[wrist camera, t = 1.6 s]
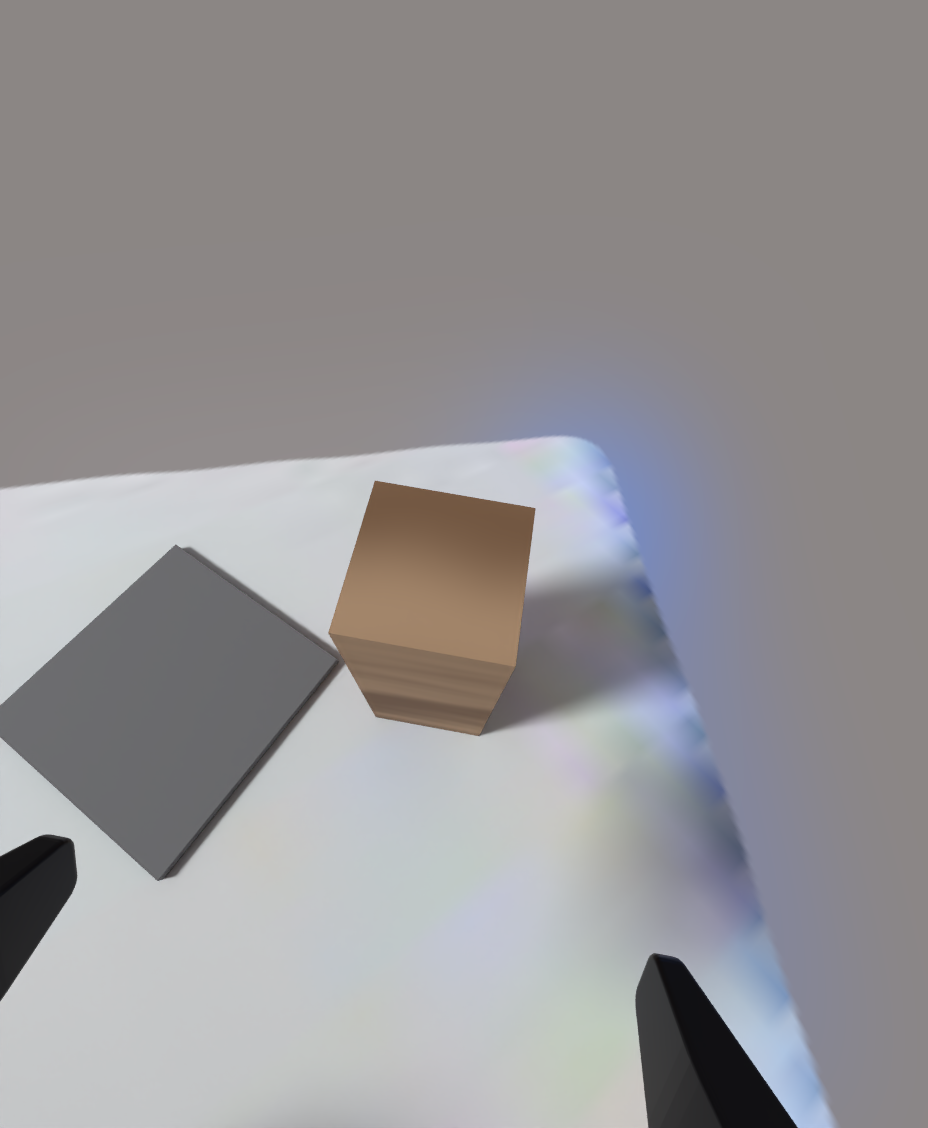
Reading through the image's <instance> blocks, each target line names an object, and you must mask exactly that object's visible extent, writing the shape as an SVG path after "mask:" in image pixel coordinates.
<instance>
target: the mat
mask: <svg viewBox="0 0 928 1128" xmlns="http://www.w3.org/2000/svg"><path fill="white" fill-rule="evenodd" d="M338 662H339V661H338V660H337V659H336V658H335V657H333V656H332V655H331V654H329V653H328V652H326V651H325V650H324V649H322V648H321V647H319V646H318V645H317V644H315V643H314V642H312V641H311V640H310V639H308V638H307V637H305V636H304V635H302V634H301V633H300V632H298V631H297V630H295V629H294V628H293V627H291V626H290V625H288V624H287V623H286V622H284V621H283V620H281V619H280V618H279V617H277V616H276V615H274V614H273V613H272V612H270V611H269V610H267V609H266V608H264V607H263V606H262V605H260V604H259V603H257V602H256V601H255V600H253V599H252V598H250V597H249V596H248V595H246V594H245V593H243V592H242V591H241V590H239V589H238V588H236V587H235V586H234V585H232V584H231V583H229V582H228V581H226V580H225V579H224V578H222V577H221V576H219V575H218V574H217V573H215V572H214V571H212V570H211V569H210V568H208V567H207V566H205V565H204V564H203V563H201V562H200V561H198V560H197V559H195V558H194V557H193V556H191V555H190V554H188V553H187V552H186V551H184V550H183V549H181V548H180V547H179V546H177V545H175V546H174V547H173V548H172V549H170V550H169V551H168V552H167V553H166V554H165V555H164V556H163V557H162V558H161V559H160V560H158V561H157V562H156V563H155V564H154V565H153V566H152V567H151V568H150V569H149V570H148V571H146V572H145V573H144V574H143V575H142V576H141V577H140V578H139V579H138V580H137V581H136V582H134V583H133V584H132V585H131V586H130V587H129V588H128V589H127V590H126V591H125V592H124V593H122V594H121V595H120V596H119V597H118V598H117V599H116V600H115V601H114V602H113V603H112V604H111V605H109V606H108V607H107V608H106V609H105V610H104V611H103V612H102V613H101V614H100V615H99V616H97V617H96V618H95V619H94V620H93V621H92V622H91V623H90V624H89V625H88V626H87V627H85V628H84V629H83V630H82V631H81V632H80V633H79V634H78V635H77V636H76V637H75V638H73V639H72V640H71V641H70V642H69V643H68V644H67V645H66V646H65V647H64V648H63V649H61V650H60V651H59V652H58V653H57V654H56V655H55V656H54V657H53V658H52V659H51V660H49V661H48V662H47V663H46V664H45V665H44V666H43V667H42V668H41V669H40V670H39V671H37V672H36V673H35V674H34V675H33V676H32V677H31V678H30V679H29V680H28V681H27V682H25V683H24V684H23V685H22V686H21V687H20V688H19V689H18V690H17V691H16V692H15V693H13V694H12V695H11V696H10V697H9V698H8V699H7V700H6V701H5V702H4V703H3V704H1V705H0V737H1V738H2V739H3V740H4V741H5V742H6V743H7V744H8V745H10V746H11V747H12V748H13V749H14V750H15V751H16V752H17V753H18V754H19V755H20V756H22V757H23V758H24V759H25V760H26V761H27V762H28V763H29V764H30V765H31V766H32V767H34V768H35V769H36V770H37V771H38V772H39V773H40V774H41V775H42V776H43V777H44V778H46V779H47V780H48V781H49V782H50V783H51V784H52V785H53V786H54V787H55V788H57V789H58V790H59V791H60V792H61V793H62V794H63V795H64V796H65V797H66V798H67V799H69V800H70V801H71V802H72V803H73V804H74V805H75V806H76V807H77V808H78V809H79V810H81V811H82V812H83V813H84V814H85V815H86V816H87V817H88V818H89V819H90V820H91V821H93V822H94V823H95V824H96V825H97V826H98V827H99V828H100V829H101V830H102V831H104V832H105V833H106V834H107V835H108V836H109V837H110V838H111V839H112V840H113V841H114V842H116V843H117V844H118V845H119V846H120V847H121V848H122V849H123V850H124V851H125V852H126V853H128V854H129V855H130V856H131V857H132V858H133V859H134V860H135V861H136V862H137V863H138V864H140V865H141V866H142V867H143V868H144V869H145V870H146V871H147V872H148V873H149V874H151V875H152V876H153V877H154V878H155V879H156V880H157V881H159V880H163V879H164V877H165V876H166V875H167V874H168V872H169V871H170V870H171V869H172V867H173V866H174V865H175V864H176V862H177V861H178V860H179V859H180V857H181V856H182V855H183V854H184V852H185V851H186V850H187V849H188V848H189V846H190V845H191V844H192V843H193V841H194V840H195V839H196V838H197V836H198V835H199V834H200V833H201V831H202V830H203V829H204V828H205V826H206V825H207V824H208V823H209V822H210V820H211V819H212V818H213V817H214V815H215V814H216V813H217V812H218V810H219V809H220V808H221V807H222V805H223V804H224V803H225V802H226V800H227V799H228V798H229V797H230V795H231V794H232V793H233V792H234V791H235V789H236V788H237V787H238V786H239V784H240V783H241V782H242V781H243V779H244V778H245V777H246V776H247V774H248V773H249V772H250V771H251V769H252V768H253V767H254V766H255V765H256V763H257V762H258V761H259V760H260V758H261V757H262V756H263V755H264V753H265V752H266V751H267V750H268V748H269V747H270V746H271V745H272V743H273V742H274V741H275V740H276V739H277V737H278V736H279V735H280V734H281V732H282V731H283V730H284V729H285V727H286V726H287V725H288V724H289V722H290V721H291V720H292V719H293V717H294V716H295V715H296V714H297V712H298V711H299V710H300V709H301V708H302V706H303V705H304V704H305V703H306V701H307V700H308V699H309V698H310V696H311V695H312V694H313V693H314V691H315V690H316V689H317V688H318V686H319V685H320V684H321V683H322V682H323V680H324V679H325V678H326V677H327V675H328V674H329V673H330V672H331V670H332V669H333V668H334V667H335V665H336V664H337V663H338Z"/></svg>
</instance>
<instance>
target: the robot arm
mask: <svg viewBox="0 0 928 1128" xmlns="http://www.w3.org/2000/svg"><path fill="white" fill-rule="evenodd" d="M76 881H77V868H76V858H75V849H74V843H73V841H72V840H71V839H69V838H65V837H60V836H55V835H42V836H39V837H37V838H35V839H33V840H31V841H29V842H27V843H25V844H23V845H21V846H19V847H17V848H15V849H13V850H11V851H9V852H8V853H6V854H4V855H2V856H0V1001H1V1000H2V998H3V997H4V995H5V994H6V992H7V991H8V989H9V988H10V986H11V985H12V983H13V982H14V980H15V979H16V977H17V976H18V974H19V973H20V971H21V970H22V968H23V967H24V965H25V964H26V962H27V961H28V959H29V958H30V956H31V955H32V953H33V952H34V950H35V949H36V947H37V946H38V944H39V943H40V941H41V940H42V938H43V937H44V935H45V933H46V932H47V930H48V929H49V927H50V926H51V924H52V923H53V921H54V920H55V918H56V917H57V915H58V914H59V912H60V911H61V909H62V908H63V906H64V905H65V903H66V902H67V900H68V899H69V897H70V896H71V894H72V892H73V890H74V888H75V885H76ZM635 1001H636V1016H637V1025H638V1034H639V1044H640V1053H641V1062H642V1072H643V1081H644V1091H645V1100H646V1109H647V1119H648V1127H649V1128H798V1127H797V1126H796V1125H795V1123H794V1122H793V1120H792V1119H791V1117H790V1116H789V1114H788V1113H787V1112H786V1110H785V1109H784V1107H783V1106H782V1104H781V1103H780V1101H779V1100H778V1099H777V1097H776V1096H775V1094H774V1093H773V1091H772V1090H771V1089H770V1087H769V1086H768V1084H767V1083H766V1081H765V1080H764V1078H763V1077H762V1076H761V1074H760V1073H759V1071H758V1070H757V1068H756V1067H755V1065H754V1064H753V1063H752V1061H751V1060H750V1058H749V1057H748V1055H747V1054H746V1053H745V1051H744V1050H743V1048H742V1047H741V1045H740V1044H739V1042H738V1041H737V1040H736V1038H735V1037H734V1035H733V1034H732V1032H731V1031H730V1029H729V1028H728V1027H727V1025H726V1024H725V1022H724V1021H723V1019H722V1018H721V1017H720V1015H719V1014H718V1012H717V1011H716V1009H715V1008H714V1006H713V1005H712V1004H711V1002H710V1001H709V999H708V998H707V996H706V995H705V993H704V992H703V991H702V989H701V988H700V986H699V985H698V983H697V982H696V981H695V979H694V978H693V976H692V975H691V973H690V972H689V970H688V969H687V968H686V966H685V965H684V964H683V962H682V961H680V960H679V959H678V958H676V957H672V956H667V955H662V954H657V953H653V954H652V955H650V957H649V958H648V961H647V963H646V966H645V968H644V971H643V974H642V976H641V979H640V981H639V984H638V987H637V990H636V999H635Z"/></svg>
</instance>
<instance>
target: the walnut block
mask: <svg viewBox="0 0 928 1128" xmlns="http://www.w3.org/2000/svg"><path fill="white" fill-rule="evenodd" d="M534 516H535V508H531V507H525V506H520V505H514V504H508V503H502V502H496V501H490V500H485V499H479V498H473V497H467V496H461V495H455V494H449V493H444V492H438V491H432V490H426V489H420V488H414V487H409V486H403V485H397V484H391V483H385V482H379V481H375V482H374V486H373V489H372V492H371V495H370V499H369V502H368V505H367V508H366V512H365V515H364V518H363V522H362V525H361V528H360V531H359V535H358V538H357V541H356V544H355V548H354V551H353V554H352V557H351V561H350V564H349V567H348V570H347V574H346V577H345V580H344V584H343V587H342V590H341V593H340V597H339V600H338V603H337V606H336V610H335V613H334V616H333V619H332V623H331V626H330V629H329V632H328V633H329V635H330V637H331V638H332V640H333V642H334V644H335V646H336V647H337V649H338V651H339V653H340V654H341V656H342V658H343V660H344V661H345V663H346V665H347V667H348V669H349V670H350V672H351V674H352V676H353V677H354V679H355V681H356V683H357V684H358V686H359V688H360V690H361V692H362V693H363V695H364V697H365V699H366V700H367V702H368V704H369V706H370V707H371V709H372V711H373V713H374V715H375V716H376V717H379V718H385V719H390V720H395V721H401V722H406V723H412V724H417V725H422V726H428V727H433V728H439V729H444V730H449V731H455V732H460V733H466V734H471V735H476V736H479V735H480V733H481V731H482V729H483V727H484V725H485V724H486V722H487V720H488V718H489V716H490V714H491V712H492V710H493V708H494V707H495V705H496V703H497V701H498V699H499V697H500V695H501V693H502V691H503V690H504V688H505V686H506V684H507V682H508V680H509V678H510V676H511V674H512V673H513V671H514V669H515V667H516V659H517V651H518V643H519V635H520V627H521V619H522V611H523V603H524V595H525V587H526V579H527V571H528V564H529V556H530V548H531V540H532V532H533V524H534Z"/></svg>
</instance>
